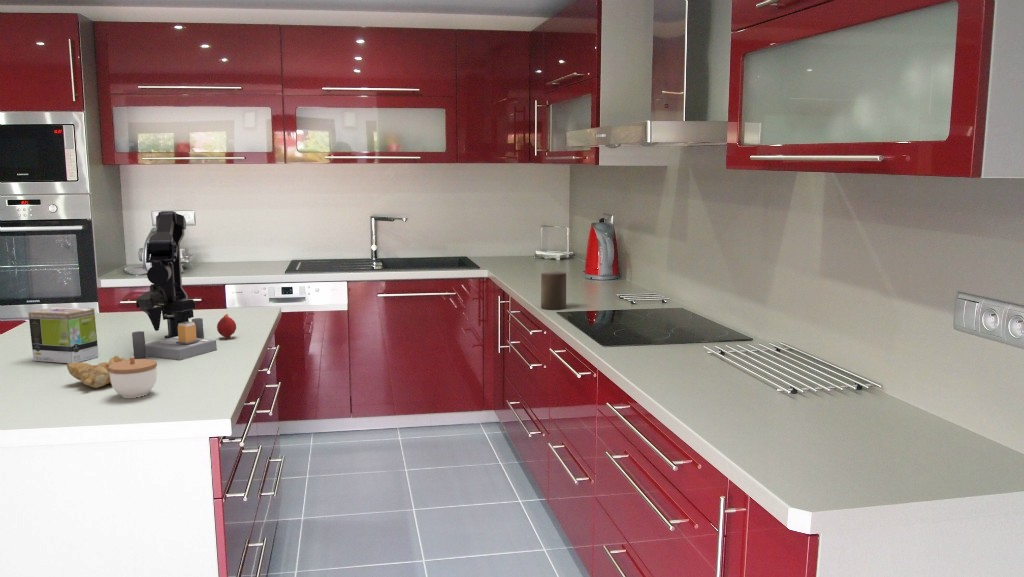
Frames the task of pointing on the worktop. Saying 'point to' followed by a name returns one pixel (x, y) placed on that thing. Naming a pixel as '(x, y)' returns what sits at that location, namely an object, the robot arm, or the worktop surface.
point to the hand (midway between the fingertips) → (167, 331)
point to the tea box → (63, 334)
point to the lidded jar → (133, 377)
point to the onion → (226, 326)
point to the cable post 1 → (139, 345)
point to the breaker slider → (187, 333)
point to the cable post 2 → (199, 327)
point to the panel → (179, 348)
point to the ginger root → (93, 372)
